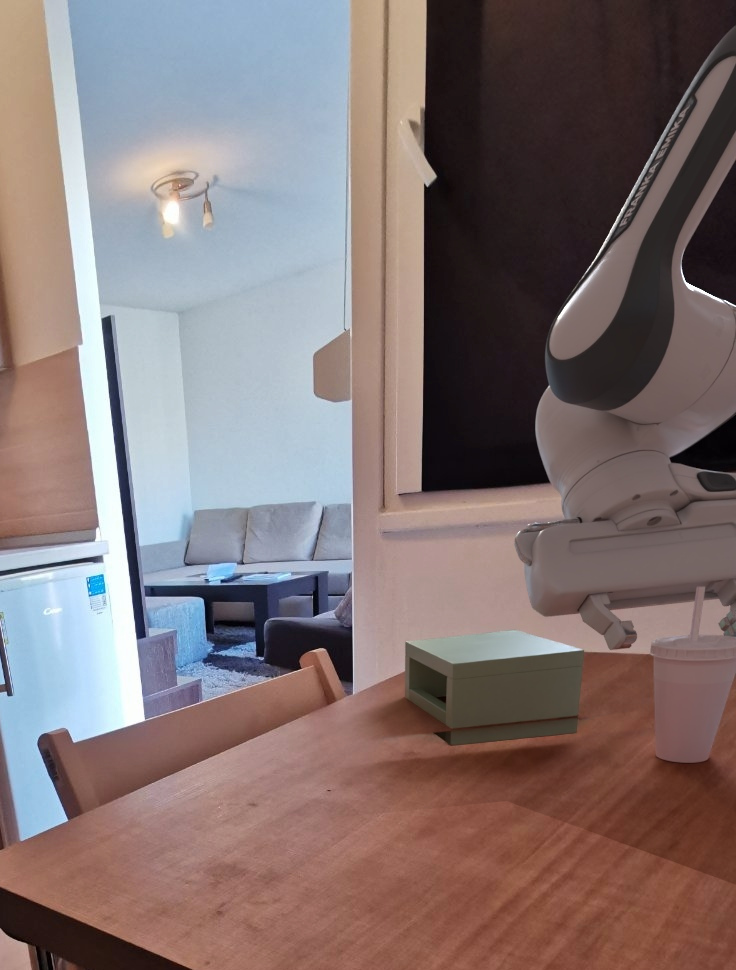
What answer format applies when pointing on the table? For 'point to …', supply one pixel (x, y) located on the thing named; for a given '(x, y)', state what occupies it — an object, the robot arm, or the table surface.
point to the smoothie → (691, 689)
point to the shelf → (495, 684)
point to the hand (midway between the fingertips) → (682, 639)
